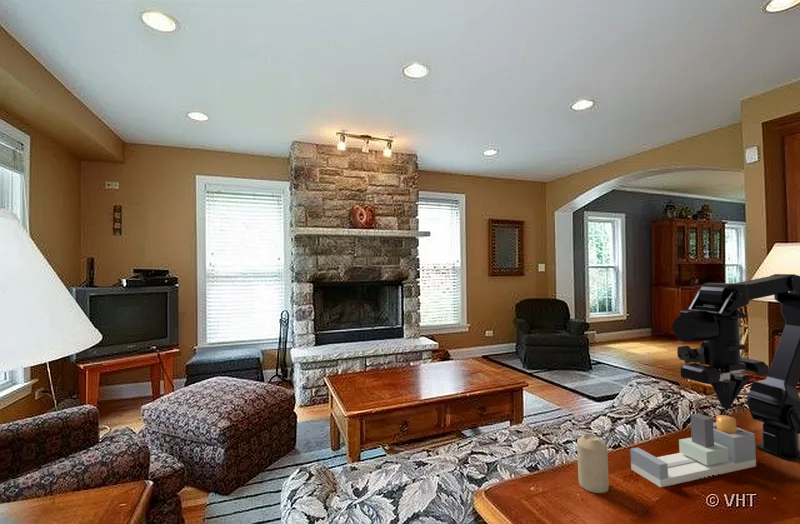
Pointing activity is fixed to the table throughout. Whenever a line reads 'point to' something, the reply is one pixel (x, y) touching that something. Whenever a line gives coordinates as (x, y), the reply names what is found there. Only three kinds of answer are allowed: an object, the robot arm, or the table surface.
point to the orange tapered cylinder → (726, 424)
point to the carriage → (703, 442)
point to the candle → (592, 464)
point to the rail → (689, 469)
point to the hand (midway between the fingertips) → (725, 407)
